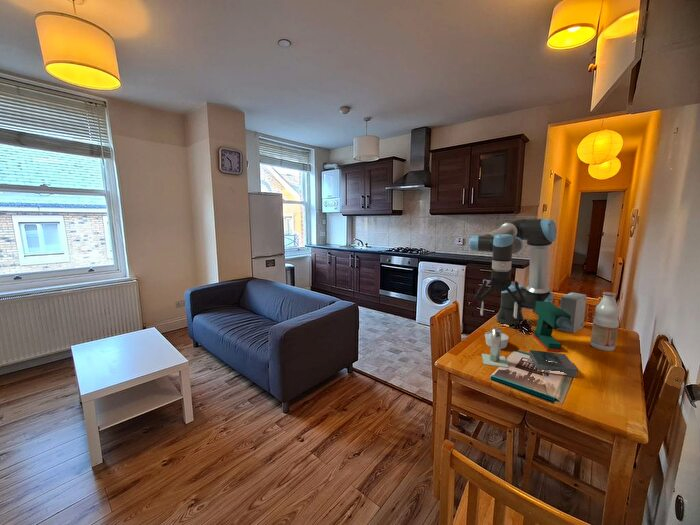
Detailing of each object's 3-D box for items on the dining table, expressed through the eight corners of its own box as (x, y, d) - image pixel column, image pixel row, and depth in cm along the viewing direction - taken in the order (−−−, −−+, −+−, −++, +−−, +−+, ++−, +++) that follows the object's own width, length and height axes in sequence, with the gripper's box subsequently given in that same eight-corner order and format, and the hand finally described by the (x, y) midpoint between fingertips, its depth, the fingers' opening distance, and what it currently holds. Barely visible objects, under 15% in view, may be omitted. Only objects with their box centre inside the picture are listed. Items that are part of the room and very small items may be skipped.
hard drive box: (568, 323, 176) (571, 291, 173) (583, 327, 170) (587, 294, 167) (557, 329, 168) (561, 296, 164) (573, 333, 162) (577, 299, 158)
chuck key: (490, 363, 131) (493, 332, 128) (488, 355, 138) (490, 325, 136) (500, 364, 129) (503, 333, 127) (498, 356, 137) (500, 326, 134)
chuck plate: (529, 356, 137) (529, 349, 137) (564, 361, 133) (564, 354, 132) (537, 371, 124) (538, 364, 123) (576, 377, 120) (577, 369, 119)
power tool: (579, 366, 128) (584, 323, 125) (561, 365, 129) (566, 322, 126) (546, 336, 159) (549, 301, 155) (532, 335, 160) (535, 300, 157)
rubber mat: (481, 354, 140) (481, 353, 140) (504, 357, 137) (504, 356, 137) (483, 364, 131) (483, 363, 131) (508, 367, 128) (508, 367, 128)
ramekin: (494, 338, 157) (494, 329, 156) (513, 347, 147) (514, 337, 146) (479, 343, 152) (479, 333, 151) (498, 352, 142) (498, 342, 142)
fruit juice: (593, 349, 144) (600, 294, 139) (588, 341, 152) (594, 289, 147) (617, 352, 139) (626, 296, 135) (611, 345, 148) (619, 291, 143)
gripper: (470, 270, 127) (468, 316, 131) (536, 272, 119) (532, 321, 123) (469, 267, 134) (467, 310, 138) (531, 269, 126) (527, 315, 130)
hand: (498, 316), depth 130 cm, fingers open, 13 cm apart
